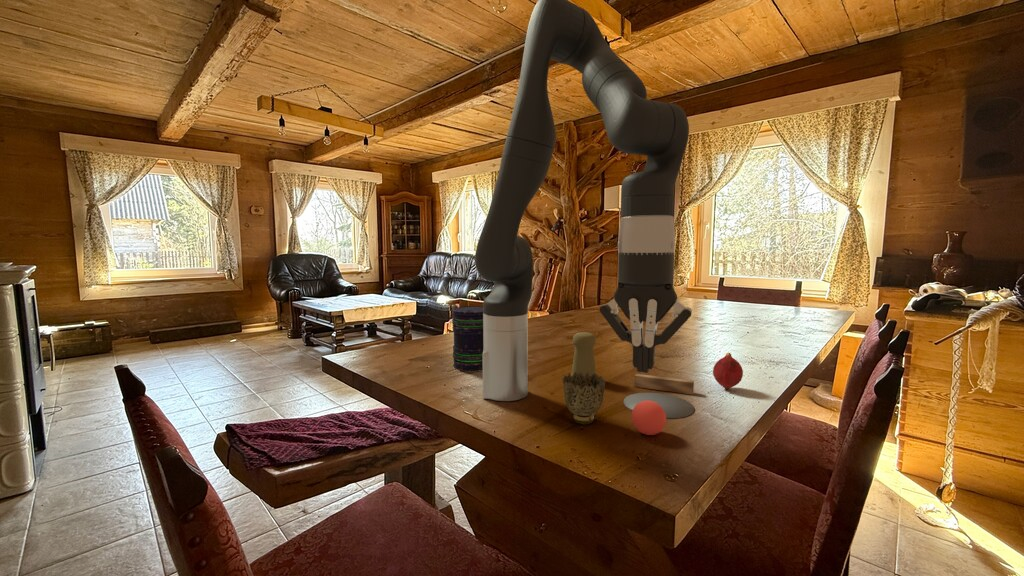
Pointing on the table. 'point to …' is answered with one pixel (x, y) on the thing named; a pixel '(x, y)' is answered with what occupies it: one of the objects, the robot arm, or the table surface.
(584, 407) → the cup
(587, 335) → the pestle
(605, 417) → the table surface
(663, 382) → the stopper rail
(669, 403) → the gray disc
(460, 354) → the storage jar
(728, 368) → the onion
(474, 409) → the table surface
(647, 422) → the ball
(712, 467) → the table surface
